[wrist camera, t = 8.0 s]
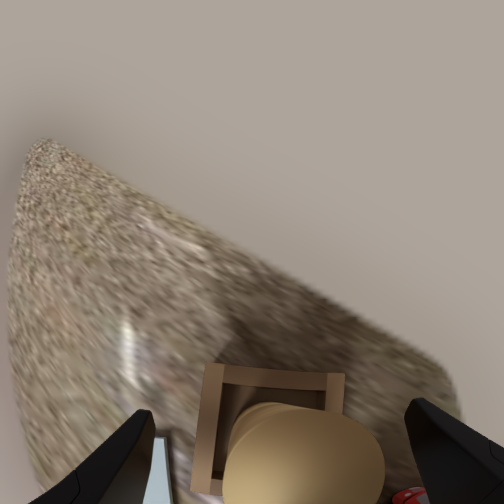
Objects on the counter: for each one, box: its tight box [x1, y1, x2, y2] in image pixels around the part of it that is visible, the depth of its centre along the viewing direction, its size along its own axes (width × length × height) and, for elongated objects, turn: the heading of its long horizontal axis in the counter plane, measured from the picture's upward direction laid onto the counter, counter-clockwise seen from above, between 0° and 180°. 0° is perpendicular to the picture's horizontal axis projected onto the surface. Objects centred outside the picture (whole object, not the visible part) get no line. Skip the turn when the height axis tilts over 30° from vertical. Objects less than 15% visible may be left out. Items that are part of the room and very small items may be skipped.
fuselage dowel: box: [222, 401, 385, 504], centre depth 10 cm, size 4×4×11 cm
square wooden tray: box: [190, 362, 345, 496], centre depth 15 cm, size 8×8×3 cm
